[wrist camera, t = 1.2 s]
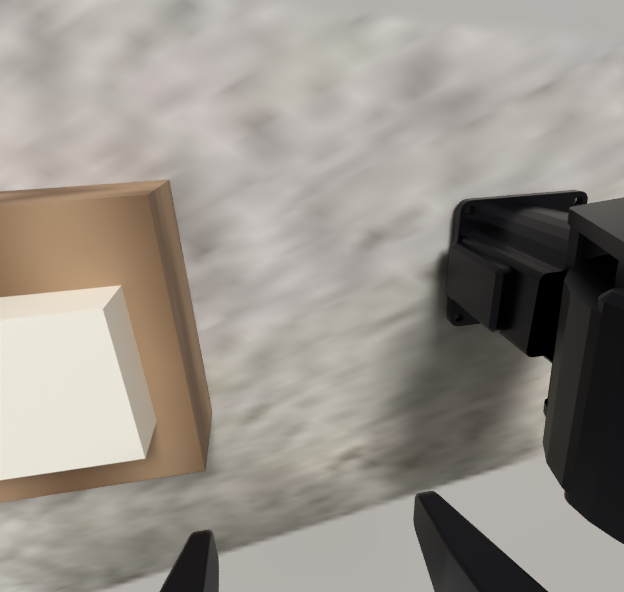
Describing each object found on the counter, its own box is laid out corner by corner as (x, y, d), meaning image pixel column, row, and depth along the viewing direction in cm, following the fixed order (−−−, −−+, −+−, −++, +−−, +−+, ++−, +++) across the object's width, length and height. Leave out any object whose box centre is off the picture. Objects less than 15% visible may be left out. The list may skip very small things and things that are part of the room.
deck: (168, 180, 17) (147, 194, 13) (212, 412, 21) (205, 470, 18) (-128, 200, 15) (-244, 223, 12) (-12, 443, 20) (-69, 513, 16)
